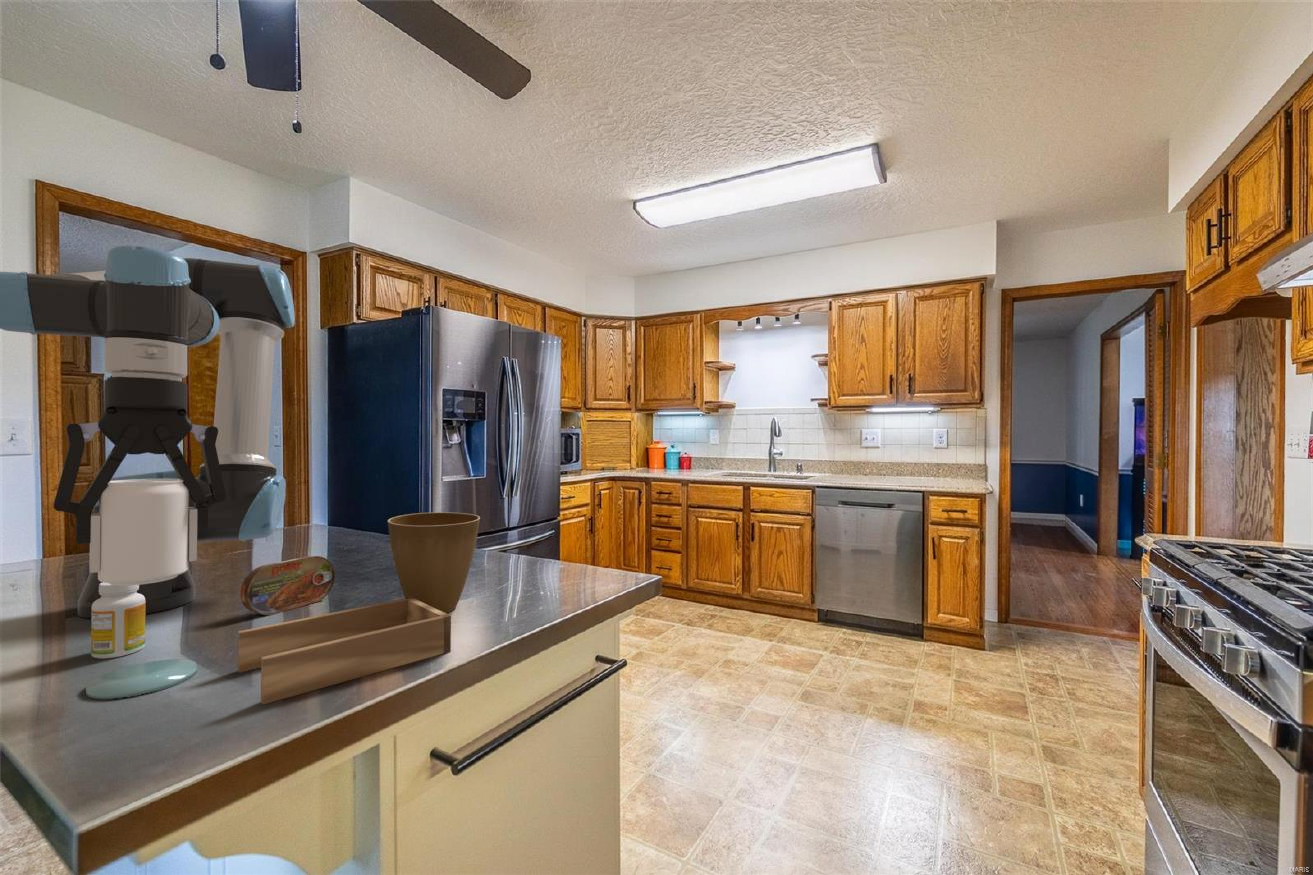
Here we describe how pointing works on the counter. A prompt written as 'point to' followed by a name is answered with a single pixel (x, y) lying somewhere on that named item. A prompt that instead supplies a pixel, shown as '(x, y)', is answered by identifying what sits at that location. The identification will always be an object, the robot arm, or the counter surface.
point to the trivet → (141, 679)
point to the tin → (287, 585)
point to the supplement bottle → (117, 621)
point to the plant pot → (433, 555)
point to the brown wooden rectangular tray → (342, 646)
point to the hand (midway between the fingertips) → (145, 564)
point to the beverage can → (143, 531)
